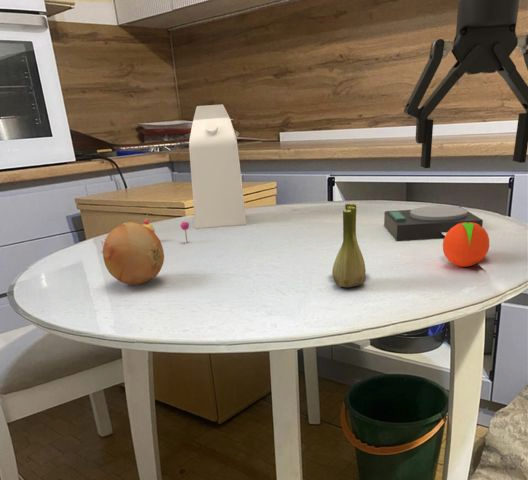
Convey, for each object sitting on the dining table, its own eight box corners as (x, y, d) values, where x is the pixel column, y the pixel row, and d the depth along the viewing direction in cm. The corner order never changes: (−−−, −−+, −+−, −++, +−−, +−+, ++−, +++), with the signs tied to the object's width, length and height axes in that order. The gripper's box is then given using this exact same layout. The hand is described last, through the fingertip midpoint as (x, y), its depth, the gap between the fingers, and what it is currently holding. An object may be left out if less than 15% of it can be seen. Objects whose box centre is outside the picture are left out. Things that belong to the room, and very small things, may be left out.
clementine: (491, 274, 81) (496, 227, 78) (443, 274, 82) (446, 228, 79) (483, 259, 88) (488, 216, 85) (439, 259, 89) (442, 217, 86)
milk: (245, 215, 136) (236, 103, 125) (245, 224, 126) (235, 103, 115) (199, 218, 136) (185, 107, 125) (195, 228, 126) (180, 107, 115)
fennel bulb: (351, 293, 77) (351, 209, 72) (323, 287, 80) (322, 206, 75) (373, 282, 81) (374, 202, 76) (346, 277, 84) (346, 199, 79)
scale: (459, 220, 114) (460, 202, 113) (481, 235, 102) (483, 215, 100) (384, 225, 115) (384, 207, 114) (396, 240, 103) (397, 221, 101)
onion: (152, 293, 83) (142, 229, 79) (97, 292, 86) (84, 230, 82) (178, 274, 92) (169, 216, 87) (126, 273, 94) (116, 216, 90)
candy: (104, 255, 108) (98, 225, 105) (102, 247, 114) (96, 218, 112) (191, 242, 112) (188, 213, 110) (184, 235, 119) (180, 208, 117)
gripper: (573, -8, 73) (547, 156, 82) (388, 5, 74) (382, 166, 83) (602, -19, 66) (570, 162, 75) (398, -4, 67) (391, 172, 76)
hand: (471, 164), depth 79 cm, fingers open, 13 cm apart
